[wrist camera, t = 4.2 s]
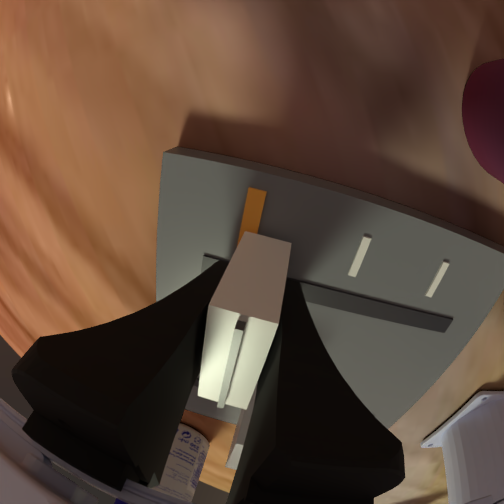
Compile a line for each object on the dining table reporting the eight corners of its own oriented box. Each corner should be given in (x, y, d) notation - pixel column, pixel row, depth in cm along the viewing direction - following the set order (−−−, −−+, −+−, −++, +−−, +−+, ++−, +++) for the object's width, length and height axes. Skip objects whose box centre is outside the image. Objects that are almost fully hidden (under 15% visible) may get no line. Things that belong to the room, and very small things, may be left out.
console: (506, 247, 10) (569, 323, 5) (367, 432, 18) (368, 496, 13) (177, 146, 11) (81, 188, 6) (167, 388, 19) (138, 451, 14)
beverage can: (150, 408, 21) (83, 553, 8) (214, 430, 21) (161, 585, 8) (153, 432, 24) (101, 552, 11) (207, 451, 23) (165, 577, 10)
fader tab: (291, 243, 10) (277, 333, 6) (265, 327, 12) (244, 417, 8) (245, 231, 10) (204, 313, 6) (227, 317, 12) (195, 403, 8)
